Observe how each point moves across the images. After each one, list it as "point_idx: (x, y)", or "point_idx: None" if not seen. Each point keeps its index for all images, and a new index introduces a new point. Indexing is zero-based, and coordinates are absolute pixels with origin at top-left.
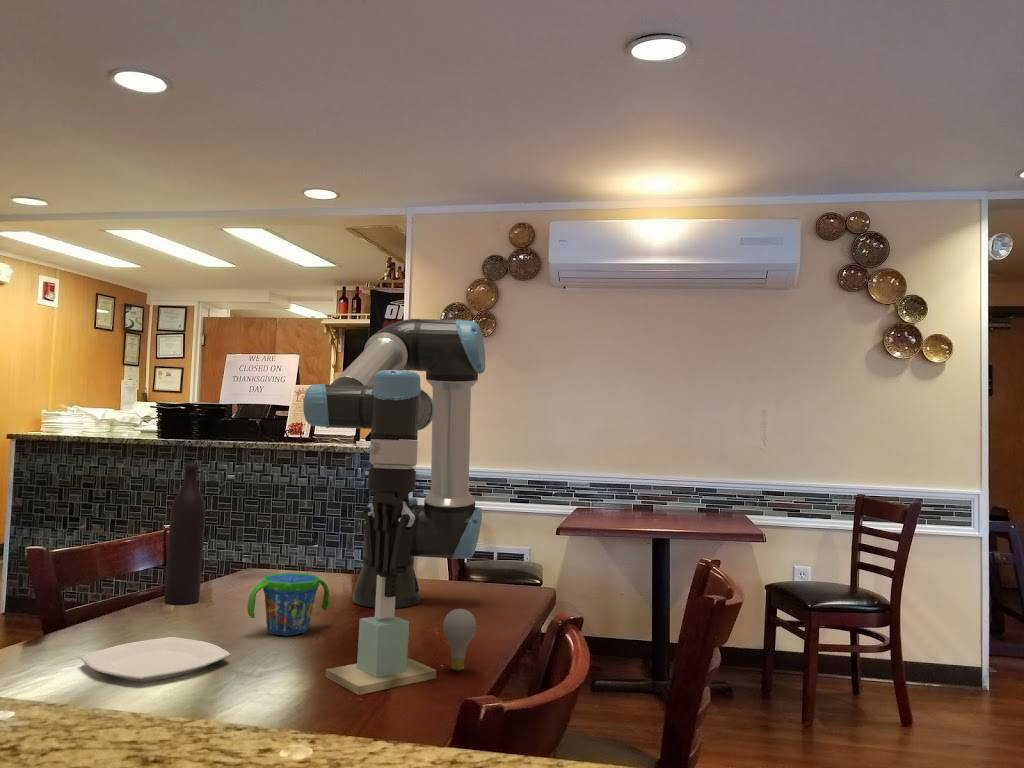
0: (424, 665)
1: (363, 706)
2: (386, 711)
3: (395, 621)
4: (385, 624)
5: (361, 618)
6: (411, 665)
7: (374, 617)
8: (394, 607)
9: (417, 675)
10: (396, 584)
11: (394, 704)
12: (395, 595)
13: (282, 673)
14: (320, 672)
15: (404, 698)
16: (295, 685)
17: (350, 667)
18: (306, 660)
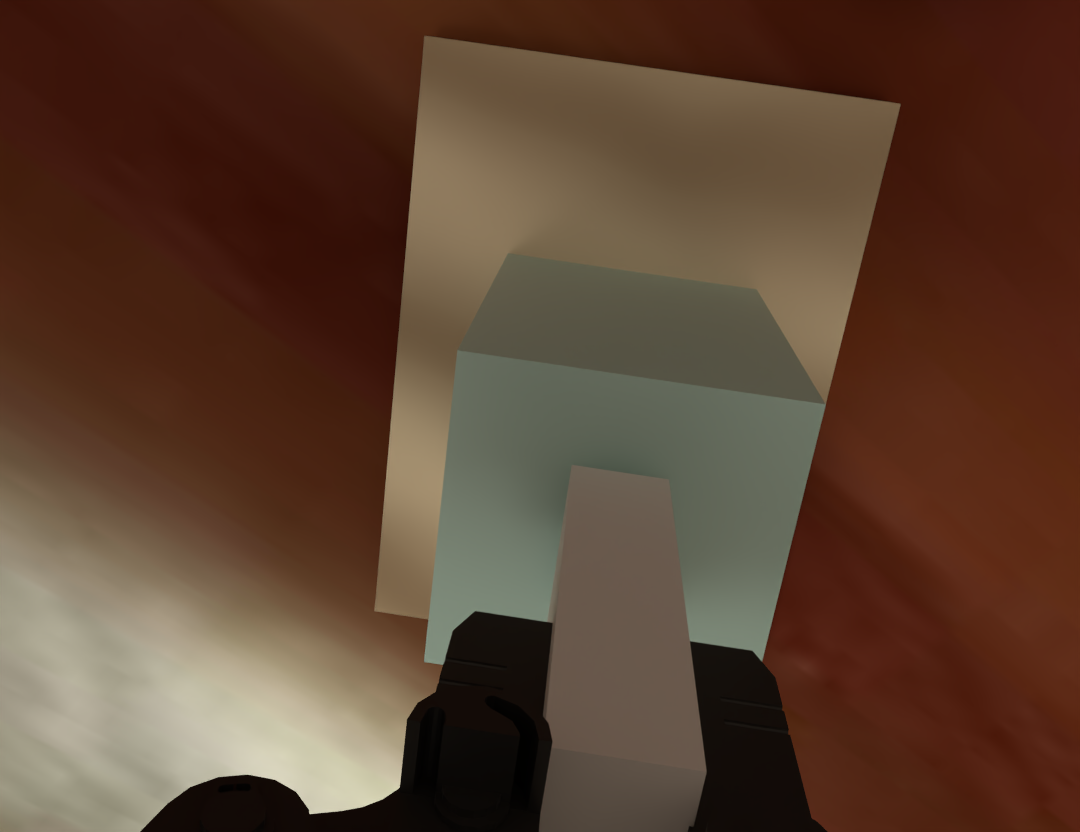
0: (750, 90)
1: (897, 721)
2: (1041, 692)
3: (728, 502)
4: (746, 635)
5: (428, 647)
6: (677, 163)
7: (471, 543)
8: (671, 524)
9: (857, 276)
10: (791, 760)
11: (1005, 605)
12: (761, 666)
13: (187, 696)
14: (290, 555)
15: (984, 510)
16: (402, 755)
17: (436, 493)
18: (32, 479)
